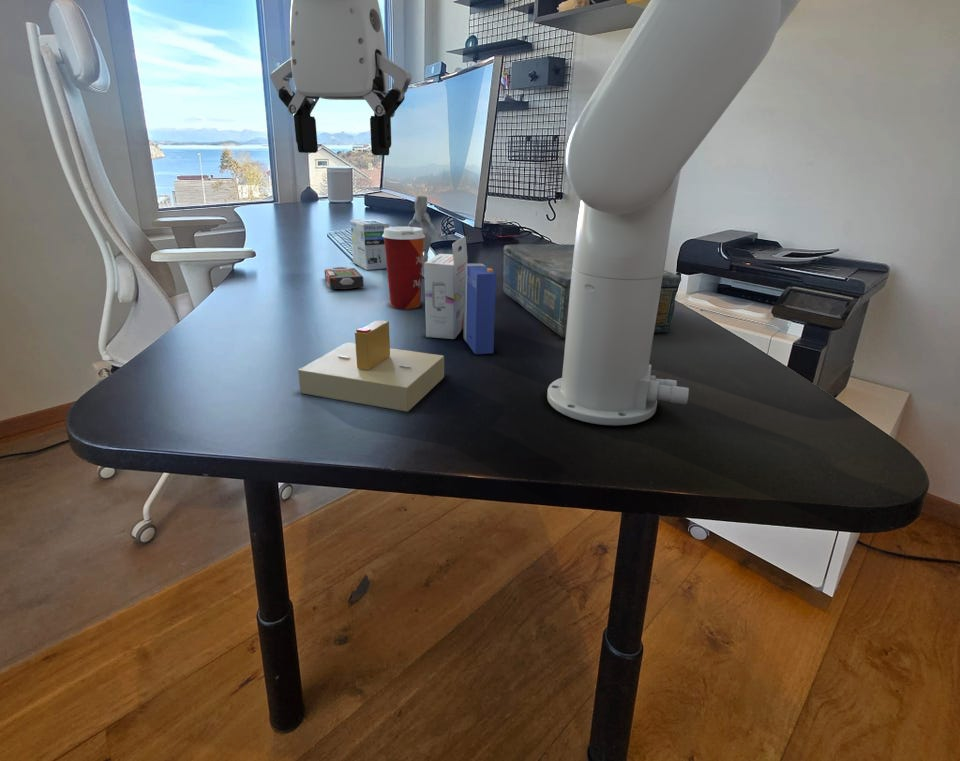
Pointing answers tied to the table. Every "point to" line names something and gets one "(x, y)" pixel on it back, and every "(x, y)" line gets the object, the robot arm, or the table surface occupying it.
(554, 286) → the metal box
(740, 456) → the table surface
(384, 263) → the light bulb box
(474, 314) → the walkman
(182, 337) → the table surface
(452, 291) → the ink cartridge box
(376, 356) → the block
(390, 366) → the plate
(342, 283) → the brown red carton
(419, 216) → the human figurine
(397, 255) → the paper cup
